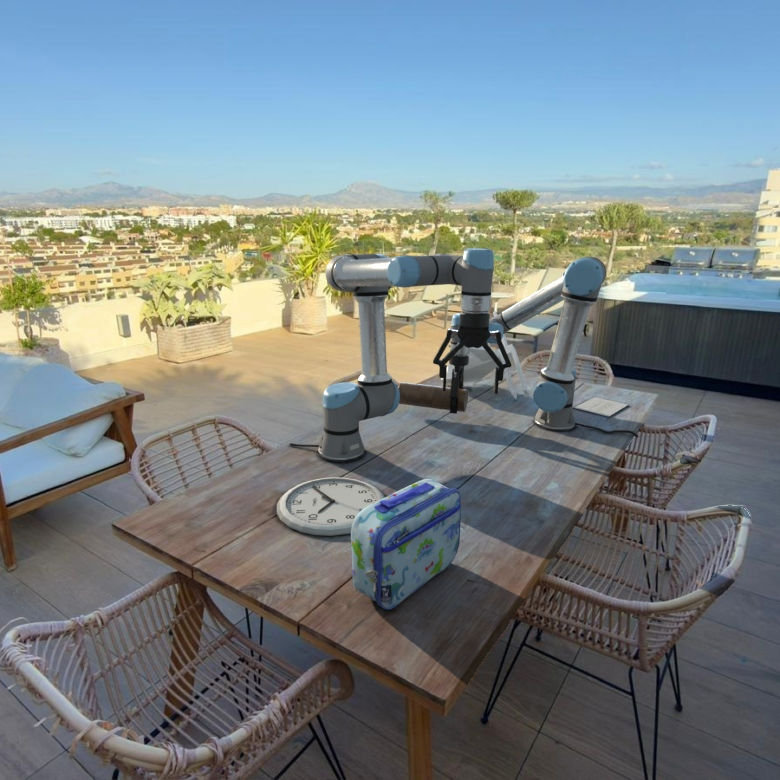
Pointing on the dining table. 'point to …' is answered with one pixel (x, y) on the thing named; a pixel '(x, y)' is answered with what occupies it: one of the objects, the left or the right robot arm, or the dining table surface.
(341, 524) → the wall clock
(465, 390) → the rod
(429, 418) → the dining table surface
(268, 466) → the dining table surface
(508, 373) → the white plastic object
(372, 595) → the lunch box
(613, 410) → the invitation card
